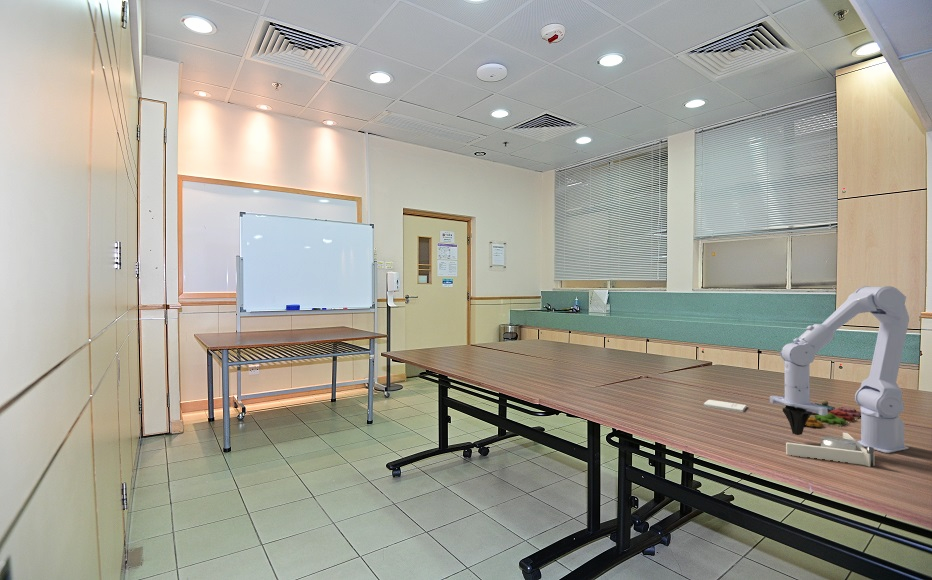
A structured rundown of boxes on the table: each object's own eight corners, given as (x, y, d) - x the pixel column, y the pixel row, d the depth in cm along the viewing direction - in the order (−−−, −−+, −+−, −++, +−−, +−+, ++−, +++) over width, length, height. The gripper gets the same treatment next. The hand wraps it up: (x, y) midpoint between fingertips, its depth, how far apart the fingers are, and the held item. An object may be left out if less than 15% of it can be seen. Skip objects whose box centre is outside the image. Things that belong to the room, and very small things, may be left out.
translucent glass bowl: (831, 449, 120) (831, 435, 120) (862, 459, 114) (862, 443, 114) (814, 453, 118) (814, 438, 118) (844, 462, 111) (844, 446, 111)
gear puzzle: (829, 434, 134) (829, 421, 134) (769, 421, 147) (769, 409, 147) (866, 417, 150) (866, 406, 150) (810, 407, 164) (810, 396, 164)
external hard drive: (708, 403, 171) (746, 408, 163) (703, 407, 164) (742, 413, 156) (708, 399, 171) (746, 404, 163) (703, 403, 164) (742, 409, 156)
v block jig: (844, 442, 125) (844, 426, 125) (903, 459, 113) (903, 442, 113) (784, 453, 117) (784, 436, 117) (840, 473, 105) (840, 454, 105)
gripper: (762, 382, 131) (762, 428, 131) (814, 393, 117) (815, 444, 118) (779, 380, 133) (779, 425, 134) (832, 390, 120) (833, 440, 120)
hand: (797, 434), depth 126 cm, fingers closed
